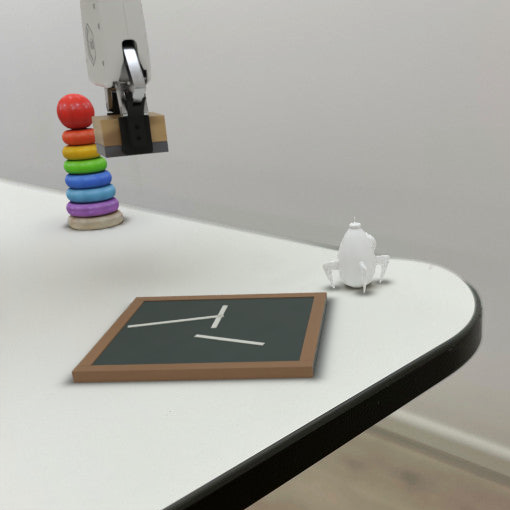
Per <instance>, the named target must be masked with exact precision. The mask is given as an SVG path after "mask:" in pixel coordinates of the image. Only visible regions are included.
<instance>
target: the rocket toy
mask: <svg viewBox="0 0 510 510" xmlns="http://www.w3.org/2000/svg"><path fill="white" fill-rule="evenodd" d="M353 219H354V220H353V221H354V222H350V223H349V225H348V226H349V228H348V229H347V231H346V232H345V233H344V235H343V236H342V239H341V241H340V244H339V246H338V251H337V259H335V260H332V261H325V262H323V263H322V269H323V271H324V273H325V276H326V277H327V280H328V281H329V283H330V285H331V287H332V289H336V286H335V282H334V279H333V271H336V270H337V271H338V274H339V277H340V279H341V281H342V282H343V283H344V284H345V285H346V286H349V287H351V288H353V289H359V288H362V289H363V294H365V293H366V288H367V285H369V284H371V283H372V281H373V279H374V276H375V274H376V267H377V265H380V267H381V271H380V278H379V283H380V284H381V283H382V281H383V279H384V277H385V275H386V271H387V269H388V266H389V263H390V260H391V256H390V255H388V254H383V255H376V254H375V250H376V247H377V246H378V245H377V239H375V237H374V236H373V235H372V234H369V233H368V232H366V231H365V230H364V229H363V228H362V224H361V223H360V222H356V216H354V217H353Z"/></svg>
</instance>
